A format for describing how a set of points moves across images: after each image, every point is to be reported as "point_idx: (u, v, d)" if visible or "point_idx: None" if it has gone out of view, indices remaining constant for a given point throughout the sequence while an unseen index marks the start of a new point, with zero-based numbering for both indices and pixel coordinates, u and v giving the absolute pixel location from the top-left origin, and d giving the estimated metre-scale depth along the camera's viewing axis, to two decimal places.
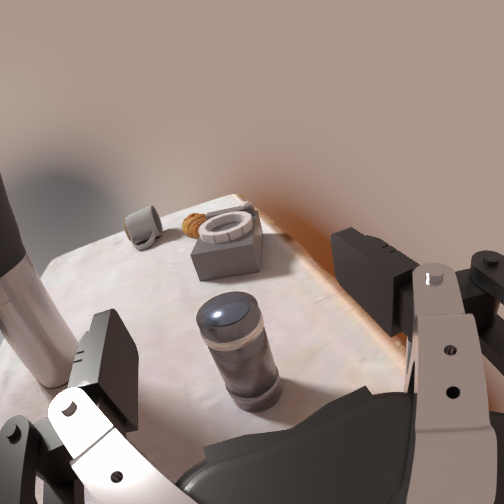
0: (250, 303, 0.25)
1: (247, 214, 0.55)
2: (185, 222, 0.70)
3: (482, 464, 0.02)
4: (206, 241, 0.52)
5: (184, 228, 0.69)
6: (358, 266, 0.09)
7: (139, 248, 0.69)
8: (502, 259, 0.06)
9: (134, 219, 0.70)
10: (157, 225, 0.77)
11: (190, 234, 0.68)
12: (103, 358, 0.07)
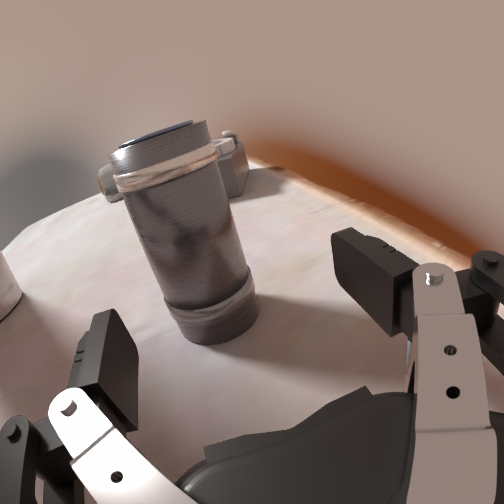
0: None
1: (228, 138, 0.44)
2: None
3: (482, 464, 0.02)
4: None
5: None
6: (358, 266, 0.09)
7: (111, 199, 0.58)
8: (502, 259, 0.06)
9: (107, 169, 0.59)
10: None
11: None
12: (103, 358, 0.07)
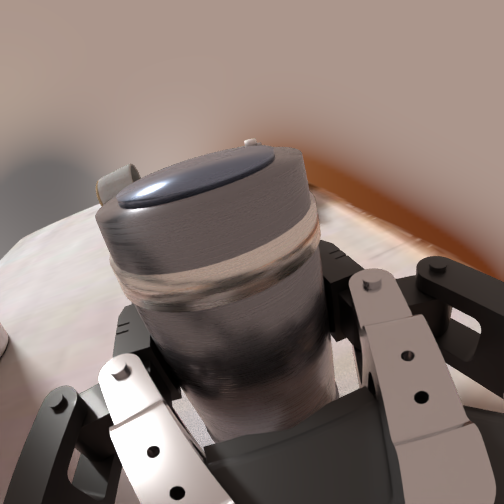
0: (276, 153, 0.07)
1: None
2: None
3: (482, 464, 0.02)
4: None
5: None
6: None
7: None
8: (449, 263, 0.07)
9: (108, 180, 0.52)
10: None
11: None
12: None
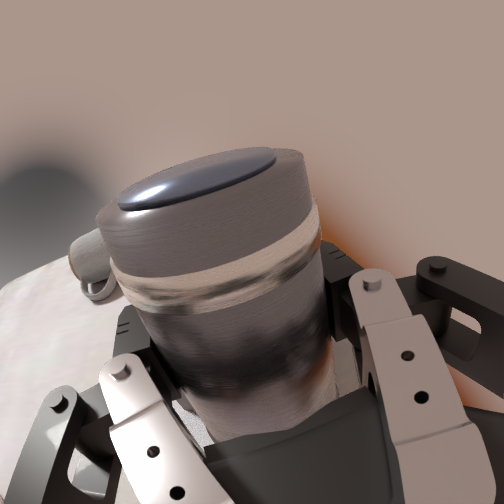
0: (277, 155, 0.07)
1: None
2: None
3: (482, 464, 0.02)
4: None
5: None
6: None
7: (91, 298, 0.39)
8: (449, 263, 0.07)
9: (81, 249, 0.39)
10: None
11: None
12: None
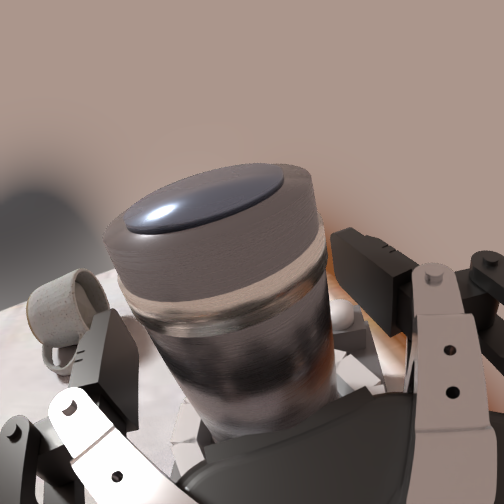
0: (284, 173, 0.07)
1: (365, 377, 0.12)
2: None
3: (482, 464, 0.02)
4: None
5: None
6: (358, 266, 0.09)
7: (55, 372, 0.25)
8: (502, 259, 0.07)
9: (40, 305, 0.26)
10: (100, 306, 0.33)
11: None
12: (103, 358, 0.07)
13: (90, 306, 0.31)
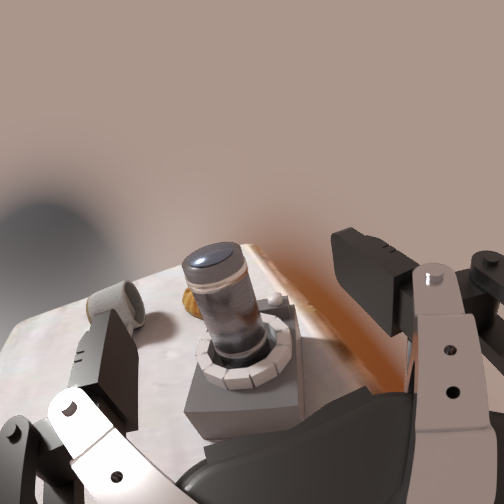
0: (234, 248, 0.25)
1: (281, 326, 0.30)
2: (188, 295, 0.47)
3: (482, 464, 0.02)
4: (210, 381, 0.27)
5: (188, 305, 0.47)
6: (358, 266, 0.09)
7: None
8: (502, 259, 0.06)
9: (99, 304, 0.44)
10: (137, 306, 0.50)
11: (200, 315, 0.45)
12: (103, 358, 0.07)
13: (131, 305, 0.48)
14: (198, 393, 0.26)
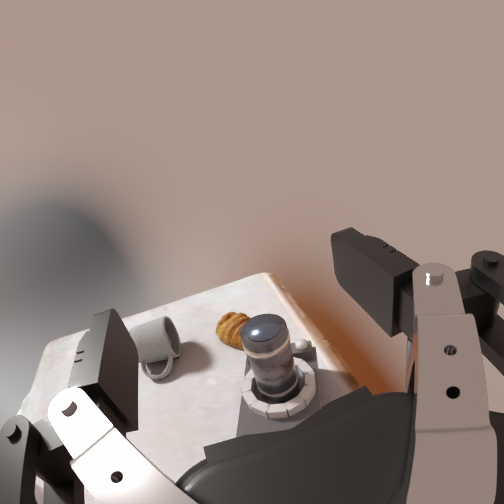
0: (281, 324, 0.33)
1: (308, 368, 0.38)
2: (221, 327, 0.55)
3: (482, 464, 0.02)
4: (254, 412, 0.35)
5: (222, 336, 0.54)
6: (358, 266, 0.09)
7: (152, 378, 0.50)
8: (502, 259, 0.06)
9: (141, 340, 0.51)
10: (173, 336, 0.58)
11: (233, 345, 0.53)
12: (103, 358, 0.07)
13: (168, 337, 0.56)
14: (246, 421, 0.34)
